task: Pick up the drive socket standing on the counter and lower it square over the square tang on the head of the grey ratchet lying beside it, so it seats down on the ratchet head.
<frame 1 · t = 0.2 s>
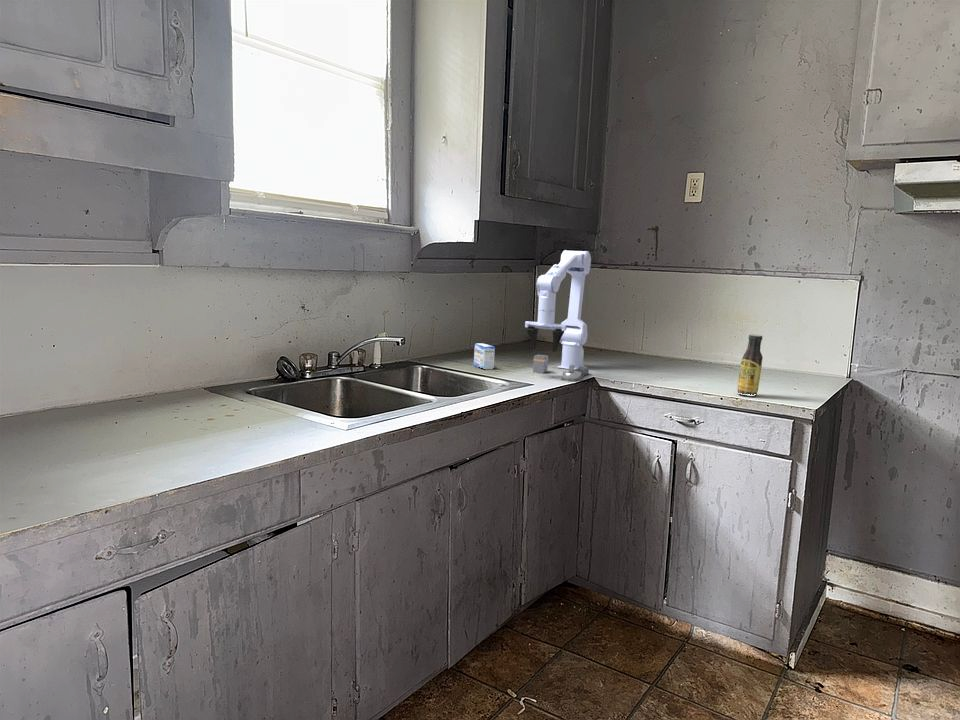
hand: (544, 349, 229), 10 cm above the worktop, tool pointing down, fingers open, 7 cm apart
socket: (540, 372, 241), on the worktop
sauce bottle: (747, 396, 215), on the worktop
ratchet: (571, 379, 230), on the worktop
medicine box: (483, 368, 245), on the worktop
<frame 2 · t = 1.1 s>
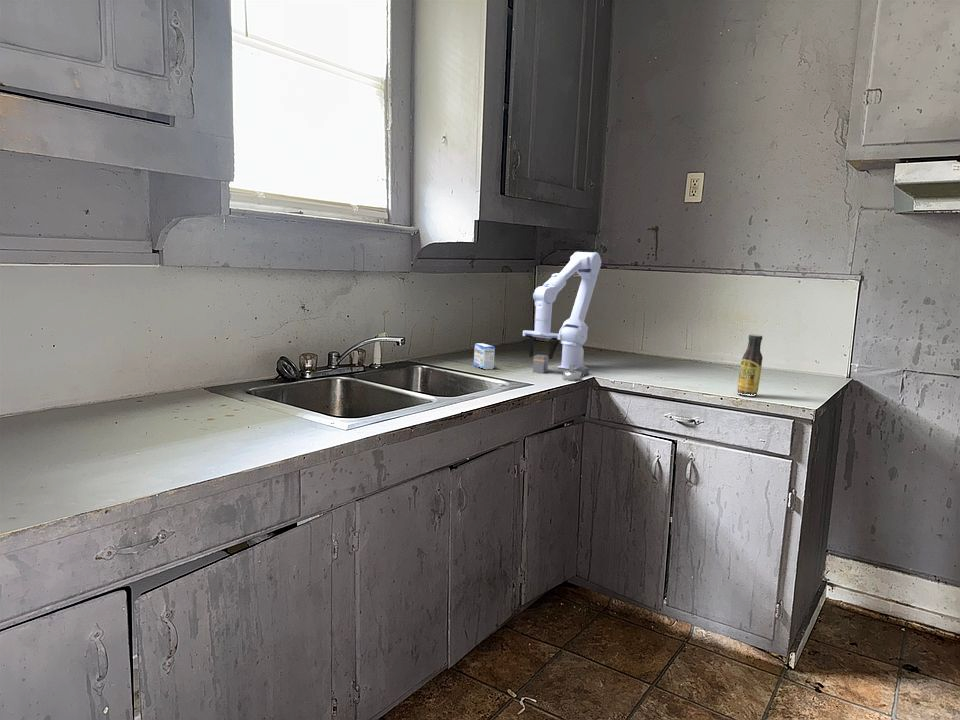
hand: (540, 357, 240), 5 cm above the worktop, tool pointing down, fingers open, 7 cm apart
nothing on the worktop moved.
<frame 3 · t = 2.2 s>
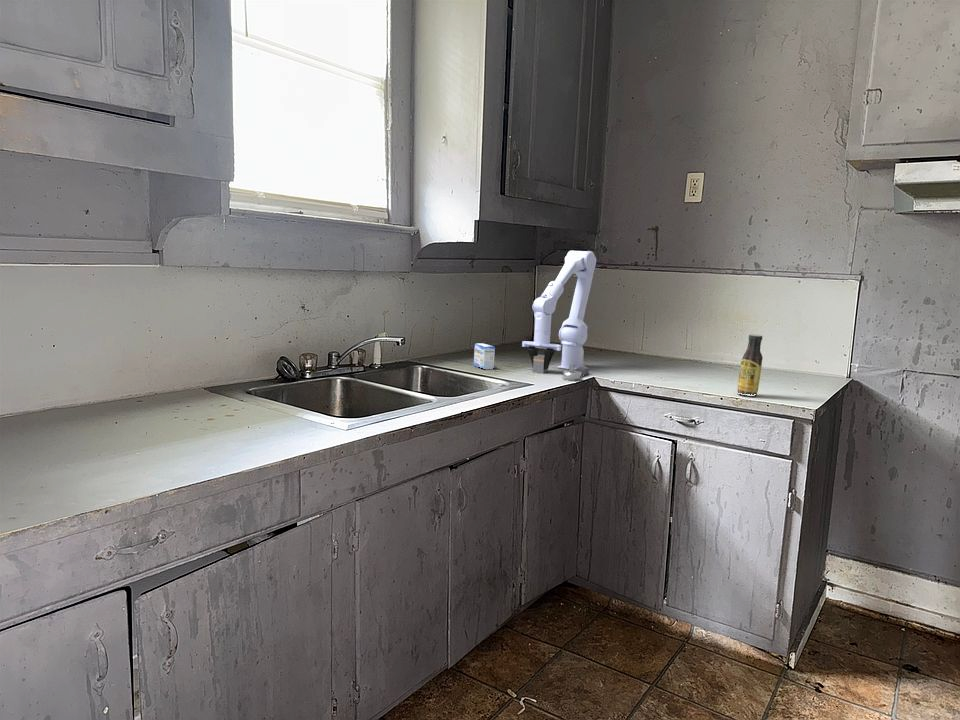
hand: (540, 368, 241), 1 cm above the worktop, tool pointing down, fingers closed on socket, 4 cm apart
socket: (540, 372, 241), on the worktop, touching gripper
everything else where it was.
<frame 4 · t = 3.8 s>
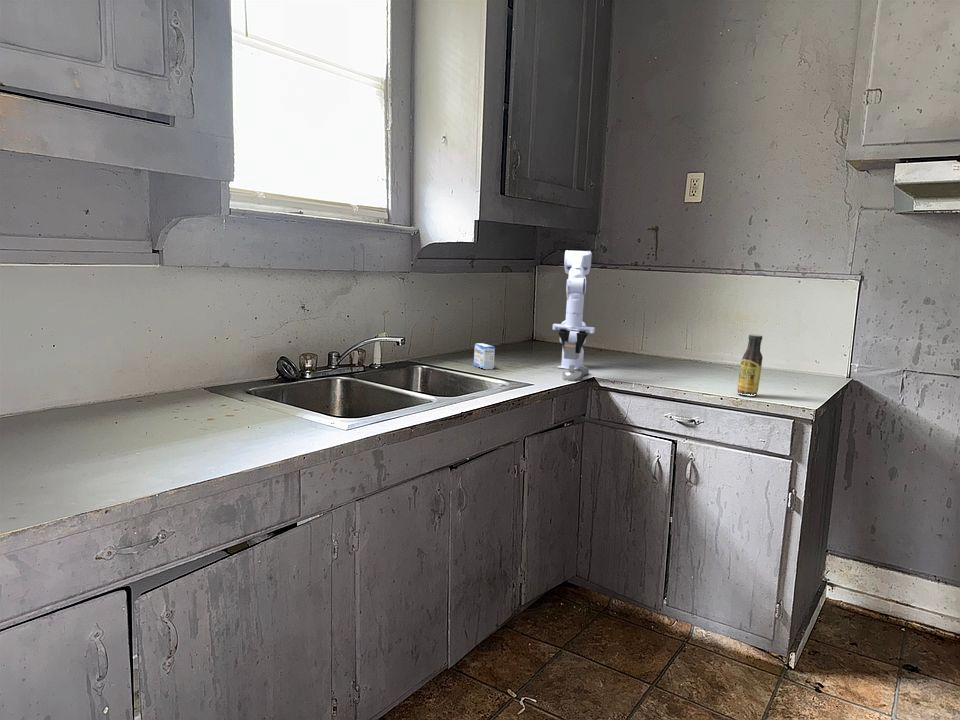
hand: (571, 352, 228), 9 cm above the worktop, tool pointing down, fingers closed on socket, 4 cm apart
socket: (571, 358, 228), point 7 cm above the worktop, touching gripper
everything else where it was.
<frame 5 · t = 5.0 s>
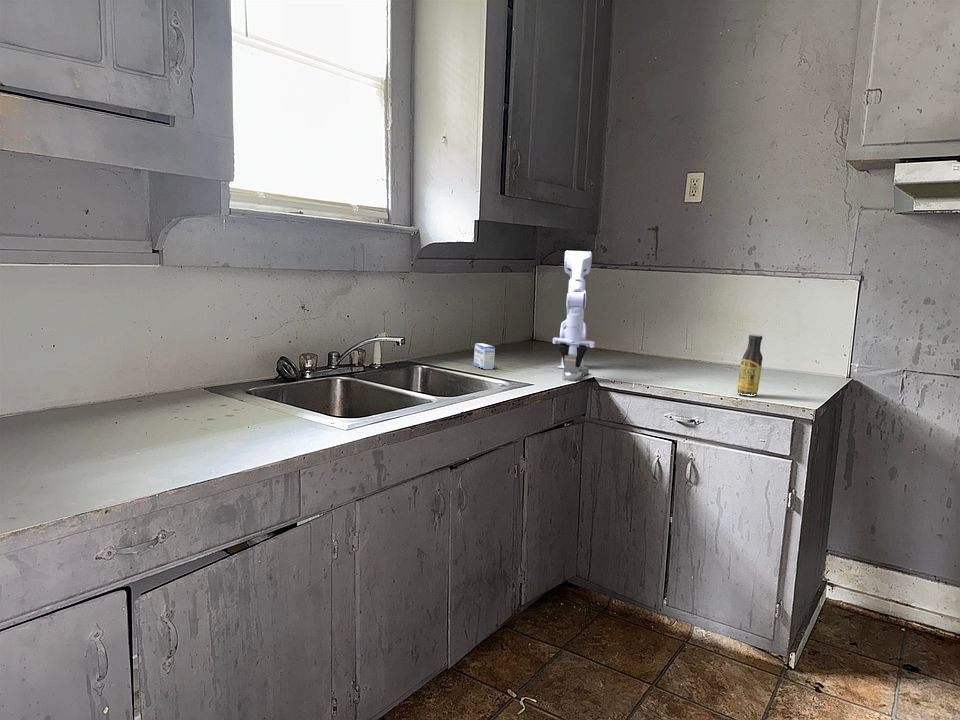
hand: (571, 366, 229), 5 cm above the worktop, tool pointing down, fingers closed on socket, 4 cm apart
socket: (571, 372, 229), point 3 cm above the worktop, touching gripper
everything else where it was.
when the fingers open (5 cm above the worktop, at t = 5.4 s): socket stays where it is, resting on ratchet.
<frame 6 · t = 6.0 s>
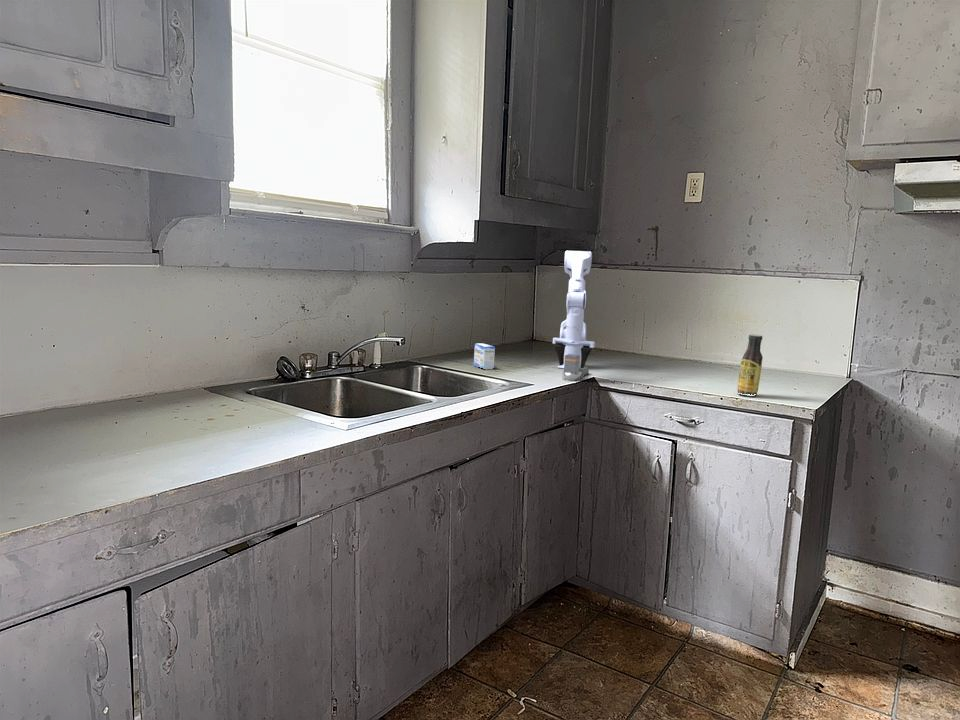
hand: (571, 366, 229), 5 cm above the worktop, tool pointing down, fingers open, 7 cm apart
socket: (571, 372, 229), point 2 cm above the worktop, touching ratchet
everything else where it was.
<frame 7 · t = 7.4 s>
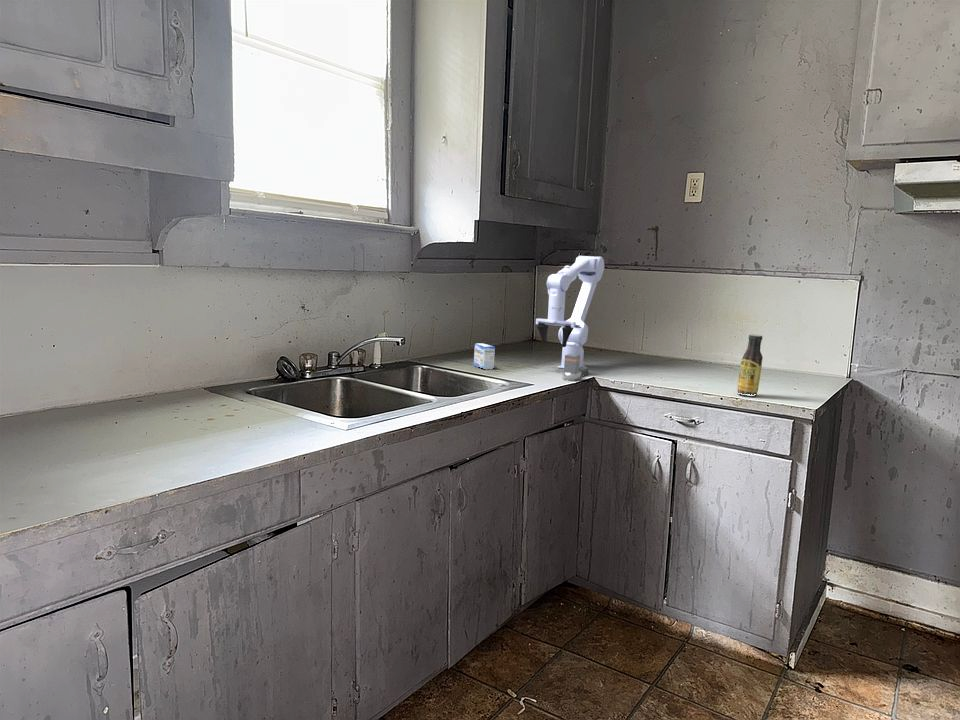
hand: (554, 345, 239), 10 cm above the worktop, tool pointing down, fingers open, 7 cm apart
nothing on the worktop moved.
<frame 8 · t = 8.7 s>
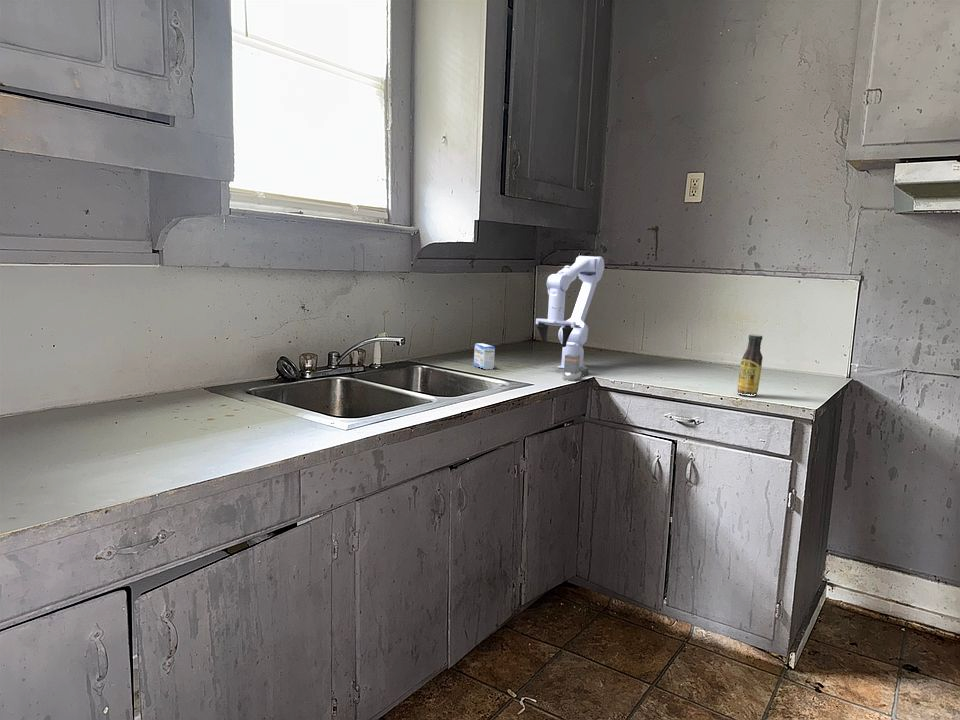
hand: (554, 345, 239), 10 cm above the worktop, tool pointing down, fingers open, 7 cm apart
nothing on the worktop moved.
at the end: socket 0.2 cm off-centre on the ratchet, point 2.5 cm above the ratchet's base; socket tilted 0°; the gripper is holding nothing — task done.
